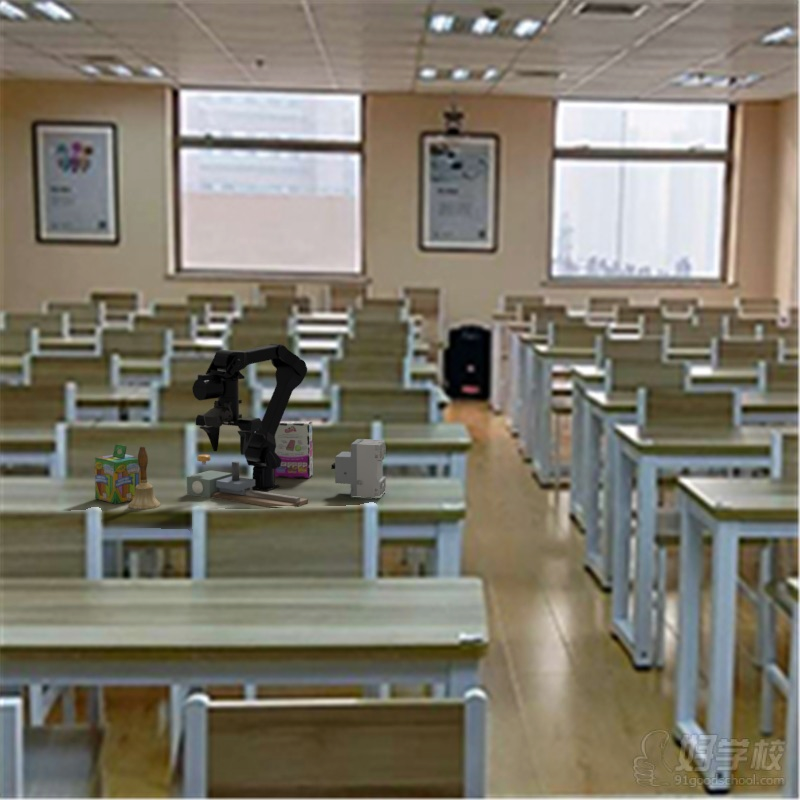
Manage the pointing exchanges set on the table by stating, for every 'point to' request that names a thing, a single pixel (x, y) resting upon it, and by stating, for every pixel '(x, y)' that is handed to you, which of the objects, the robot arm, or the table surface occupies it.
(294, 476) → the candy bar box
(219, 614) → the table surface
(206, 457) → the tan round piece
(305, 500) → the rail track
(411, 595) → the table surface
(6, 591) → the table surface
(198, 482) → the grey green box
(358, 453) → the circuit breaker
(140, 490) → the hand bell
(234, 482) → the grey peg on base
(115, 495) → the chalk box
